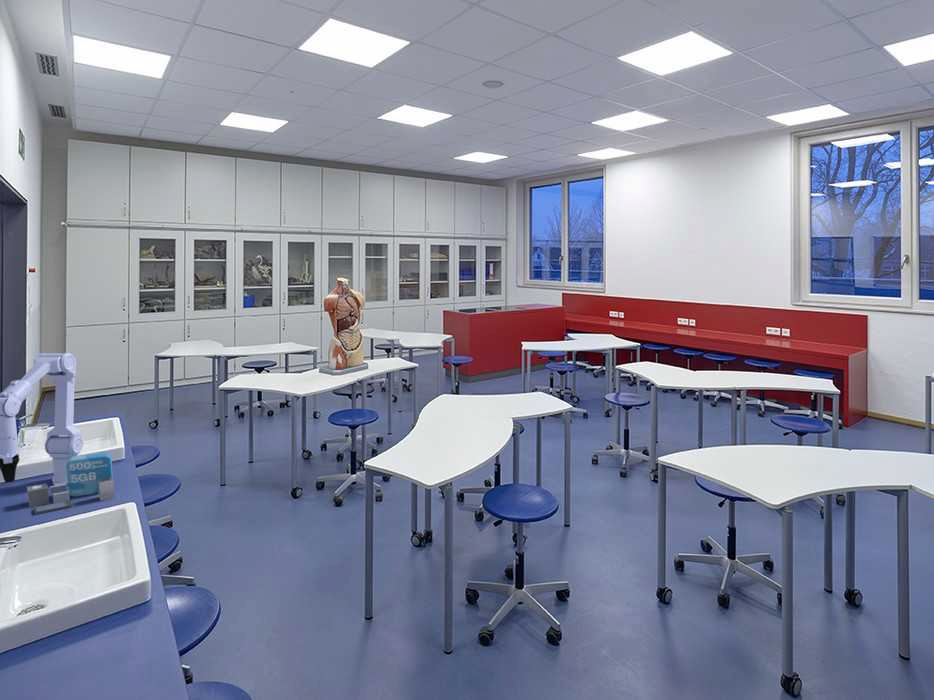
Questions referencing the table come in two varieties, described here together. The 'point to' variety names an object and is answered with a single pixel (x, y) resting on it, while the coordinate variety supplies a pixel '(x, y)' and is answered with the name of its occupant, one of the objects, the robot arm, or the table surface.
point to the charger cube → (38, 495)
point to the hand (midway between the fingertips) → (9, 480)
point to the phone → (52, 507)
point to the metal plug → (106, 488)
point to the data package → (87, 473)
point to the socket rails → (60, 493)
